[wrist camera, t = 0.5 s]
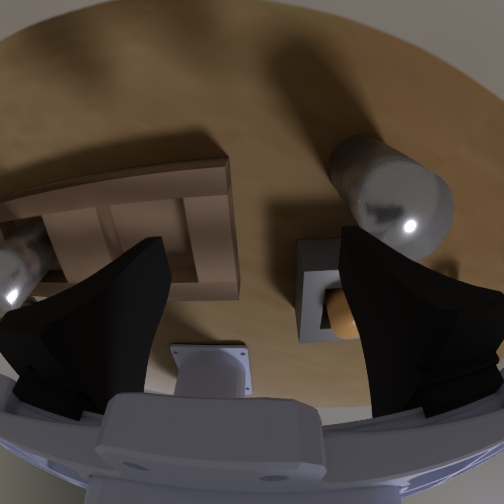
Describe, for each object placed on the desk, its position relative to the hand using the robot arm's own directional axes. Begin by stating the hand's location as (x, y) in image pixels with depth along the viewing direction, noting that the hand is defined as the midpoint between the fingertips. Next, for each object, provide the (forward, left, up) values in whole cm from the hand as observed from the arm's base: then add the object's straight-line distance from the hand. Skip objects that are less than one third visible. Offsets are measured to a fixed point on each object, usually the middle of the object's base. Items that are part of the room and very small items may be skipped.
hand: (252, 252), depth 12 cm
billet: (-3, +20, -9) cm, 22 cm away
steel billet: (+1, -7, -9) cm, 12 cm away
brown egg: (-8, -6, -7) cm, 13 cm away
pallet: (-3, +14, -9) cm, 17 cm away
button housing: (-8, -6, -9) cm, 14 cm away
